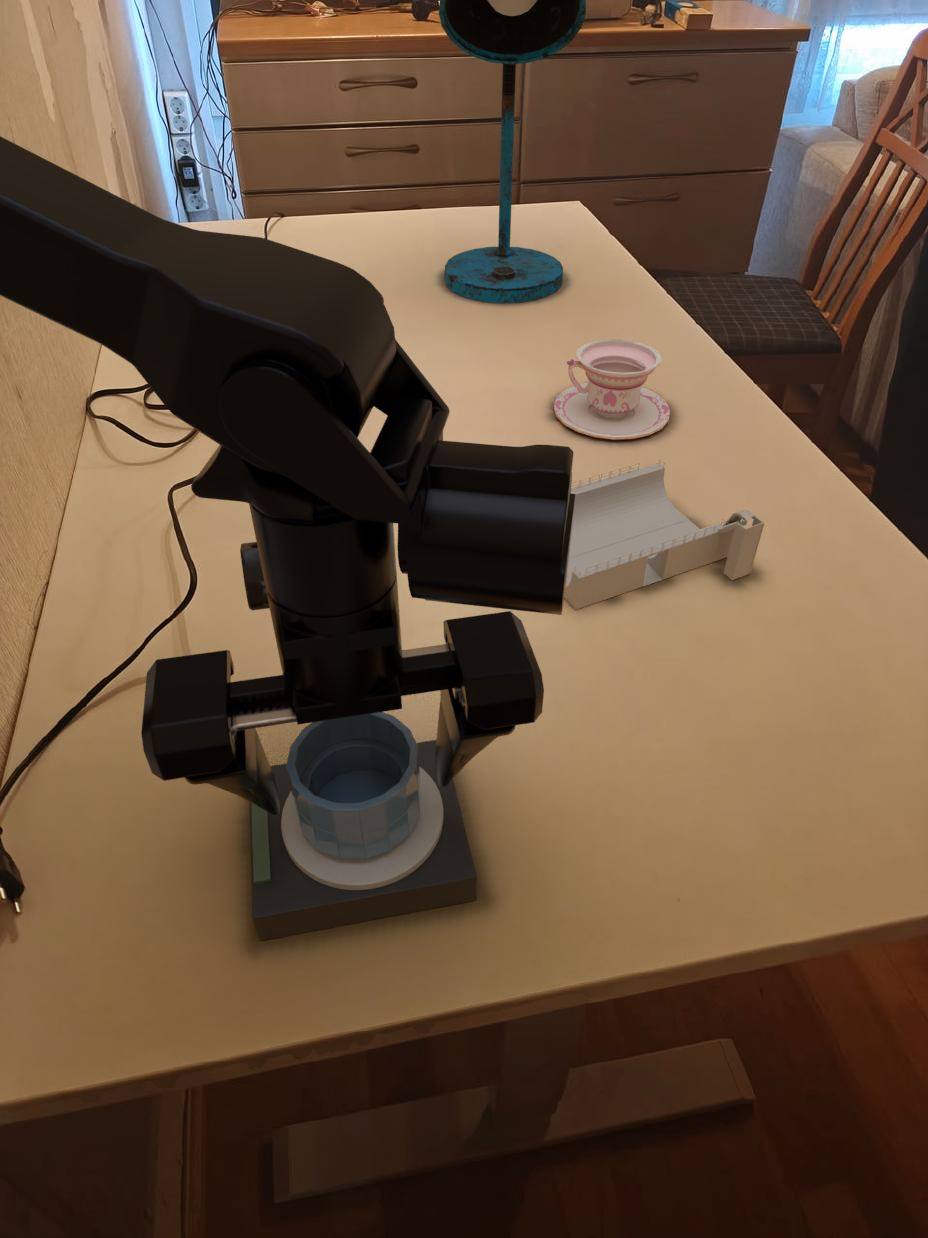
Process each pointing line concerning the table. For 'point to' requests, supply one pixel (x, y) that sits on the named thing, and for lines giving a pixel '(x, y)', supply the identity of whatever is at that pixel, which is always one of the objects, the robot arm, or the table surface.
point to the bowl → (355, 784)
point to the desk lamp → (508, 134)
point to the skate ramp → (645, 538)
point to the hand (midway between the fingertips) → (360, 793)
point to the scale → (358, 865)
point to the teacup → (613, 392)
